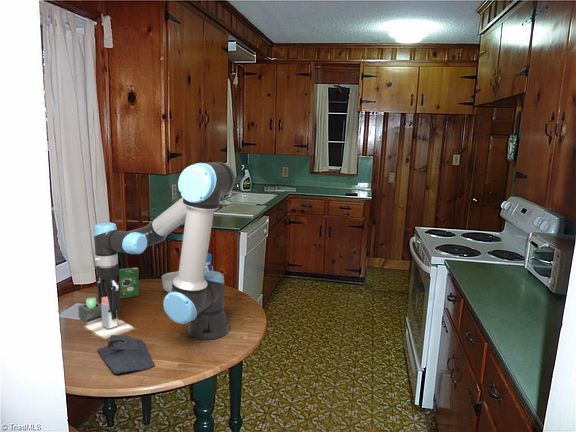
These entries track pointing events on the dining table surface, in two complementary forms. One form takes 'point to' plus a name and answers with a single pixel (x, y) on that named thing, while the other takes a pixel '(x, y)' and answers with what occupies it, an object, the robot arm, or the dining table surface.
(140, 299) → the dining table surface
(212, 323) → the robot arm
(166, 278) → the teacup
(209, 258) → the beverage bottle
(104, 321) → the pink-tipped grey block
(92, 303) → the button
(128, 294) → the coffee box
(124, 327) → the cream flat rectangular panel
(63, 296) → the dining table surface
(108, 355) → the dark grey folded cloth
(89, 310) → the switch box
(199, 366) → the dining table surface
